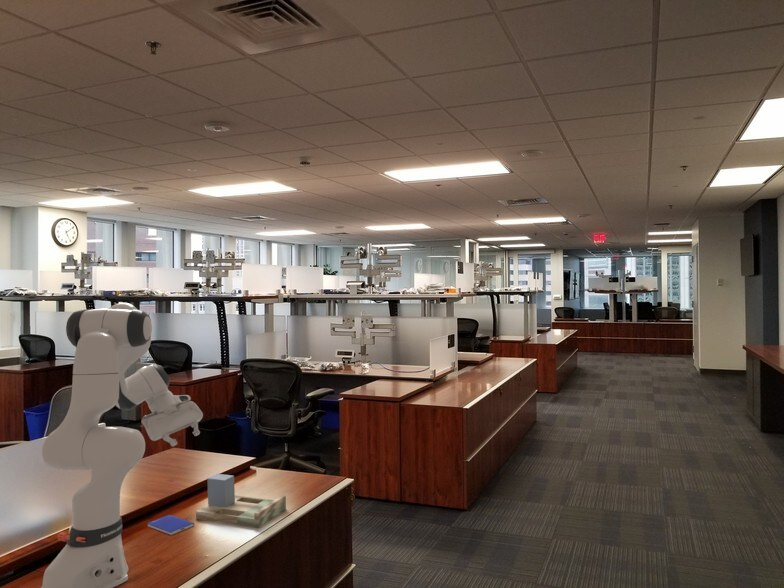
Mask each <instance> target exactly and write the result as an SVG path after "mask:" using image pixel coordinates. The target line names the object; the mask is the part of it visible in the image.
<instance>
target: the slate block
mask: <svg viewBox="0 0 784 588" xmlns="http://www.w3.org/2000/svg"><path fill="white" fill-rule="evenodd" d="M206 480H207V481H206V482H207V505H210V506H217V507H225V508H226V507H227V506H229V505H231V504H233V503H234V502H235V495H236V494H235V493H236V492H235V475H230V474H222V473H215V474H214V475H212V476H209V477H207V479H206Z"/></svg>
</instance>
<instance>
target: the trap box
mask: <svg viewBox="0 0 784 588" xmlns="http://www.w3.org/2000/svg"><path fill="white" fill-rule="evenodd" d="M286 498H287V497H286V495H285V494H283V495H280V496H277V498H275V499H268V498H267V499H266V498H258V497H251V496H245V495H243V496H241V495H236V494H235V502H234V503H233V504H231V505H229V506H227V507H226V508H225V507H217V506H210V505H208V504H206V505H205V506H203V507H201V508H199V509H197V510H195V519H196V520H200V521H201V520H203V521H209V522H214V523H215V522H217V523H223V524H229V525H230V524H231V525H237V526H243V527H251V528H256V529H257V528H258V529H259V528H261V527H262V526H264V525H266V524H267V523H268V522H269V521H271V520H272V519H274V518H275V517H277V516H279V514H282V511H283V512H284V511H285V510H286V509H287V499H286Z"/></svg>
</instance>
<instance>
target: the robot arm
mask: <svg viewBox="0 0 784 588" xmlns="http://www.w3.org/2000/svg"><path fill="white" fill-rule="evenodd" d="M152 331H153V324H152V320H151V317H150V315H149V314H148V313H147V312H145V311H144V310H139V309H138V308H137V307H135V305H133V304H131V303H128V302H118V303H115V304H113V305H112V306H109V308H95V309H80V310H76V311H74V312H73V313H72V314H70V315H69V317H68V318H67V321H66V326H65V333H66V337H67V340H68V341H69V342H70V343H71V344H72V346H74V347H75V353H74V356H73V357H74V359H73V365H72V382H71V383H72V385H71V387H72V388H71V398H70V403H69V407H68V410H67V413H66V415H65V417H64V419H63V420H62V421H61V423H60V424H59V426H57V428H55V429H54V430H53V431H52V432H50V433H49V434H48V435H47V437H46V438H45V440H44V442H43V444H42V449H41V456H42V459H43V461H44V463H45V464H46V465H47V466H48V467H50V468H53V469H58V470H63V471H91V478H90V481H89V482H88V483H87V482H86V484H84V485H82V486H81V487H80V488H78V489H77V490H76V492H75V493H74V494H73V496H72V499H71V508H72V509H71V516H72V525H71V527H70V529H69V532H63V531H62V532H60V533H58V535H57V541H59V542H66V544H65V546H64V547H63V548H62V549H61V550H60V552H59V553H58V554H57V556H56V557H55V558H54V559H53V560H52V561H51V563H49V565H48V566H47V568H46V569H45V571H44V573H43V577H42V586H41V587H40V588H115V587H117V586H119V585H121V584H123V583H125V582H127V581H128V580H129V576H128V572H129V566H128V564H127V560H126V556H125V553H124V552H125V551H124V547H123V546H124V545H123V540H122V533H123V519H122V516H121V507H120V506H121V491H122V490H121V489H122V486H123V482H124V480H125V478H126V477H127V475H128V473H129V472H130V471H131V470H132V469H133V468H134V467H135V466H137V465H138V464H139V463H140V461H141V460H142V458H143V457H144V455H145V451H146V441H145V438H144V435H143V434H142V433H141V431H140V430H139V429H135V428H132V427H131V428H130V427H124V426H99V424H100V423H99V421H100V418H101V416H102V415H103V414H104V413H106V412H108V411H110V410H111V409H113V408H114V407H116V408H118V409H119V410H123V411H131V410H133V409H134V408H136V407H137V406H139V405H140V404H141V403H143V402H146V403H147V405H148V406H147V407H148V408H149V410H150V411H151V412H150V413H149V414H145V415H143V416H142V418H141V424H142V426H143V427H144V428H145V431H146V433H147V435H148V437H149V439H150V440H151V441H153V442H156V441H158V440H160V439H163V441H164V442H166V443H169V445H170V446H171V447H175V446H177V445H178V441H177V439H176V438H171V437H170V435H172V434H174V433H176V432H179V431H181V430H183V429H186V428H188V427H191V428H193V431H192V434H193V435H194V437H197V436H199V435H200V434H201V431H200V430H199V422H201V420H202V419H203V417H204V413H203V411H202V410H201V409H200V407H199V406H198V405H197V403H196V402H194V401H191V399H192V398H191V396H190V395H188V394H183V395H182V394H181V395H178V394H177V395H176V394H175V395H174V394H173V392H172V391H170V390H169V386H170V382H171V377H170V376H169V374H168V373H167V372H166V371H165V369H164V368H163V367H164V366H163V365H159V364H155V363H152V364H149V365H145V366H142V367H141V368H139V369H138V370H136V371H135V372H134V373H133V374H131V375H129V376H128V377H125V372H126V371H127V370H128V369H129V368H130V367H131V366H132V365H133V364H134V363H136V362H137V361H138V360H139V359H141V358H142V357H143V356H144V355H146V353H147V352H148V350H149V348H150V347H151V345H152V344H151V343H152V338H151V337H152V333H153V332H152Z"/></svg>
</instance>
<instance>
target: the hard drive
mask: <svg viewBox="0 0 784 588" xmlns="http://www.w3.org/2000/svg"><path fill="white" fill-rule="evenodd" d="M193 526H195V523H194V522H192V521H188V520H186V519H182V518H180V517H177V516H175V515H172V514H168V515H166V516H162V517H160V518H157V519H155V520H152V521H149V522H148V523H147V527H148V528H152V529H154V530H157V531H159V532H163V533H166V534H168V535H171V536H173V535H174V534H177V533H179V532H182V531H184V530H186V529H187V530H188V529H189V528H192V527H193Z"/></svg>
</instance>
